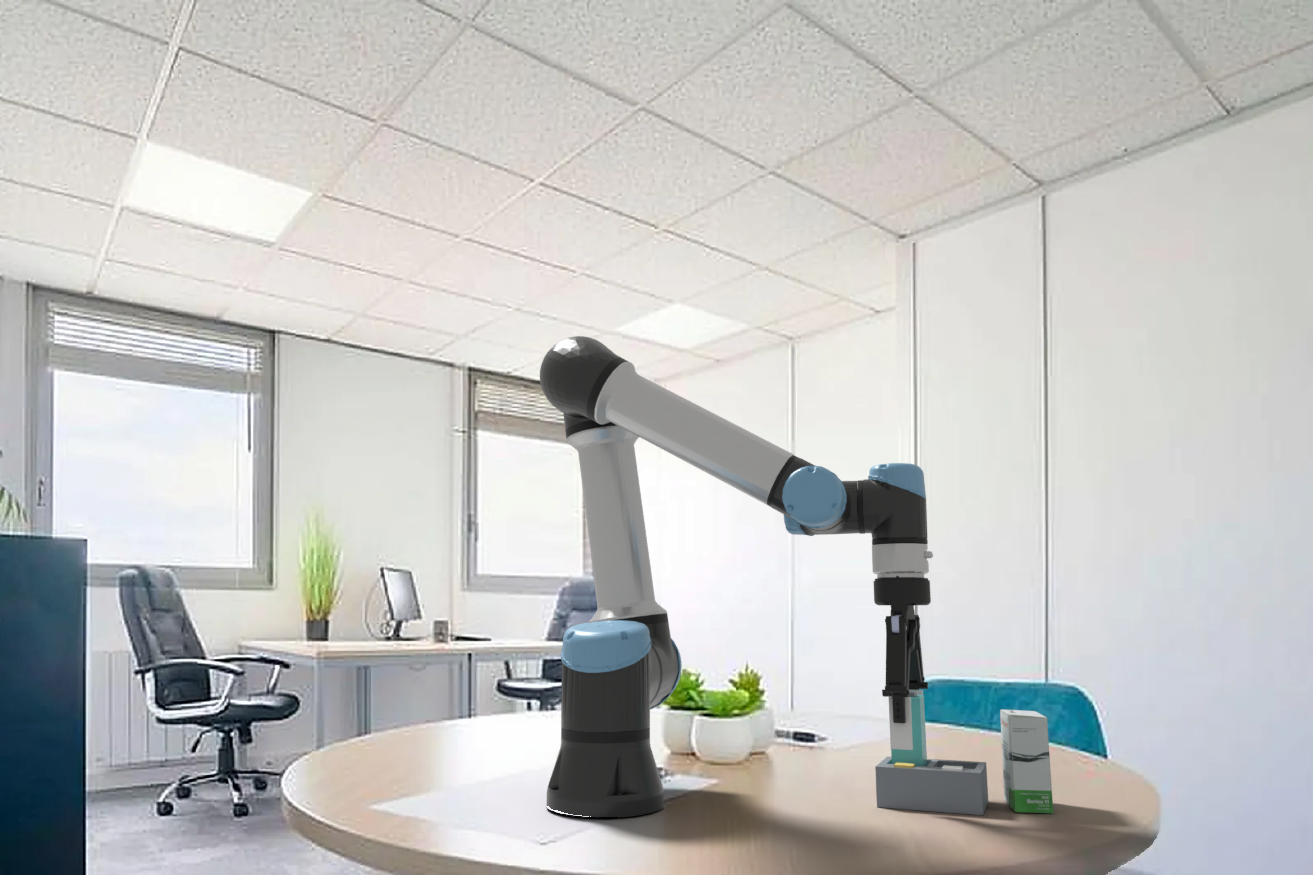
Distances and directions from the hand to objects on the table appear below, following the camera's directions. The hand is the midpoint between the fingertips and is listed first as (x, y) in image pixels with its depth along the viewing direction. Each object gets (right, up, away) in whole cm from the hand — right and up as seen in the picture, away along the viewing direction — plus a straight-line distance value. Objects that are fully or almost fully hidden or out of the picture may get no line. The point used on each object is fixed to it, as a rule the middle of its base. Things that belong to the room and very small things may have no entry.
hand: (908, 743), depth 131 cm
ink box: (+14, -7, -5) cm, 17 cm away
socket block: (+2, -7, -3) cm, 8 cm away
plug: (0, -7, -1) cm, 7 cm away
